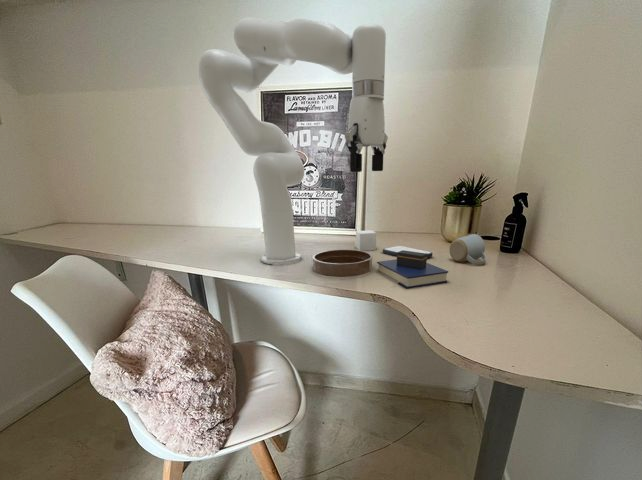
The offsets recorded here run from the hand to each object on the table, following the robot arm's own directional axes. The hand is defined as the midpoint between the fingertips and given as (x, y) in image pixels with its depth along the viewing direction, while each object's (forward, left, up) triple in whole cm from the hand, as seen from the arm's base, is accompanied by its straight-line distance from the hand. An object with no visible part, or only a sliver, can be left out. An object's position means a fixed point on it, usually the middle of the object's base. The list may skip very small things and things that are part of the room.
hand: (367, 171), depth 86 cm
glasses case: (+11, +8, -23) cm, 27 cm away
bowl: (-3, -6, -26) cm, 27 cm away
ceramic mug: (+5, +33, -26) cm, 43 cm away
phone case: (-10, +20, -26) cm, 35 cm away
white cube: (-25, +12, -26) cm, 38 cm away
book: (+11, +8, -26) cm, 30 cm away
